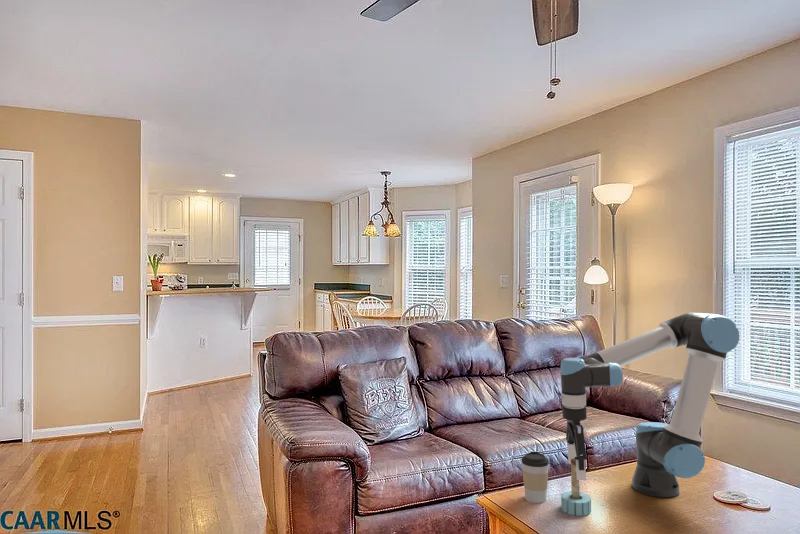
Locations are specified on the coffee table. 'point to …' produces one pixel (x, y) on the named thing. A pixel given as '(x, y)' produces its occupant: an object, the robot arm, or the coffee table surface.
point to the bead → (576, 504)
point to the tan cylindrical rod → (574, 481)
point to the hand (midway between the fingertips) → (576, 471)
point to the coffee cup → (535, 476)
